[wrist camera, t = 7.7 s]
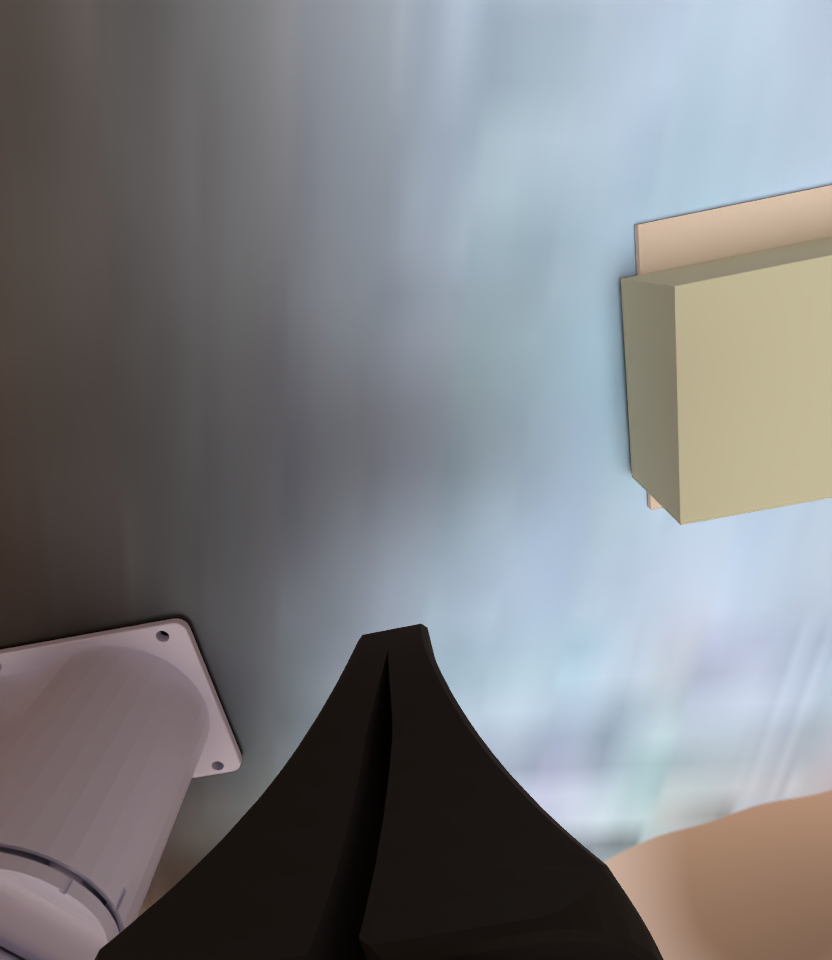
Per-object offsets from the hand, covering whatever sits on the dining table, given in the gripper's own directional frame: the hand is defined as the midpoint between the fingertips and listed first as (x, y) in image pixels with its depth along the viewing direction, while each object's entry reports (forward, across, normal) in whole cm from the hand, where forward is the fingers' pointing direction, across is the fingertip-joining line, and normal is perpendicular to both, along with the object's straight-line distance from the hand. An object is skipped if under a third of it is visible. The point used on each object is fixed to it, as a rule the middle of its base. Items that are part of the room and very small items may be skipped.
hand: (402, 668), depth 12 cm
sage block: (+8, -8, -2) cm, 12 cm away
